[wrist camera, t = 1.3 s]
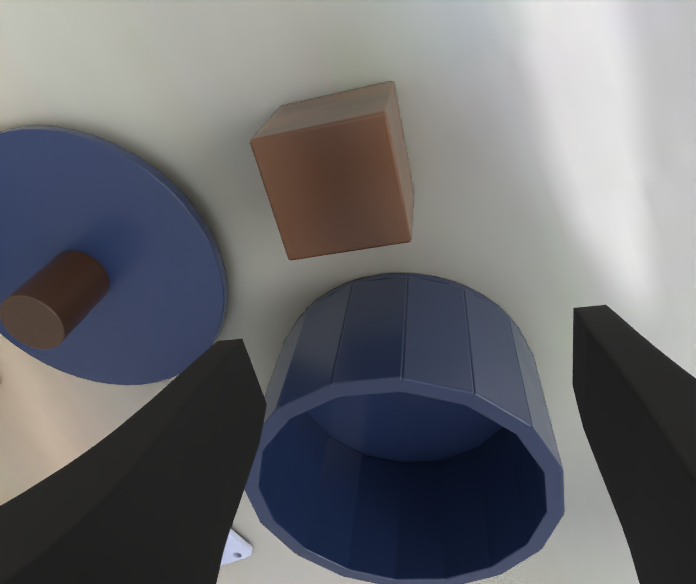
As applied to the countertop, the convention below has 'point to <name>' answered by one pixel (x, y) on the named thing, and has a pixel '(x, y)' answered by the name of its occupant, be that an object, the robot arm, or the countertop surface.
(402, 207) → the walnut block
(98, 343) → the tin lid
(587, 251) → the countertop surface
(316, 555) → the tin
